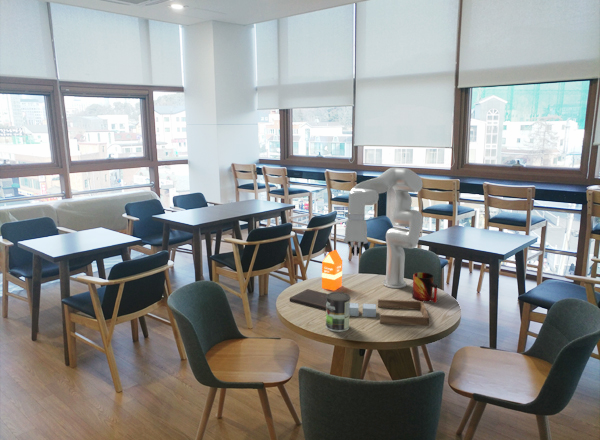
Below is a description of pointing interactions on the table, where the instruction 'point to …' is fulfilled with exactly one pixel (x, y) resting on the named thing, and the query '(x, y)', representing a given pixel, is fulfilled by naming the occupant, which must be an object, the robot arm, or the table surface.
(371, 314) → the tile
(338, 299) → the coffee can
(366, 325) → the table surface
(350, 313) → the tile
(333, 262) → the orange juice
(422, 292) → the mug
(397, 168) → the robot arm
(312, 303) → the hardcover book
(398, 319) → the frame
